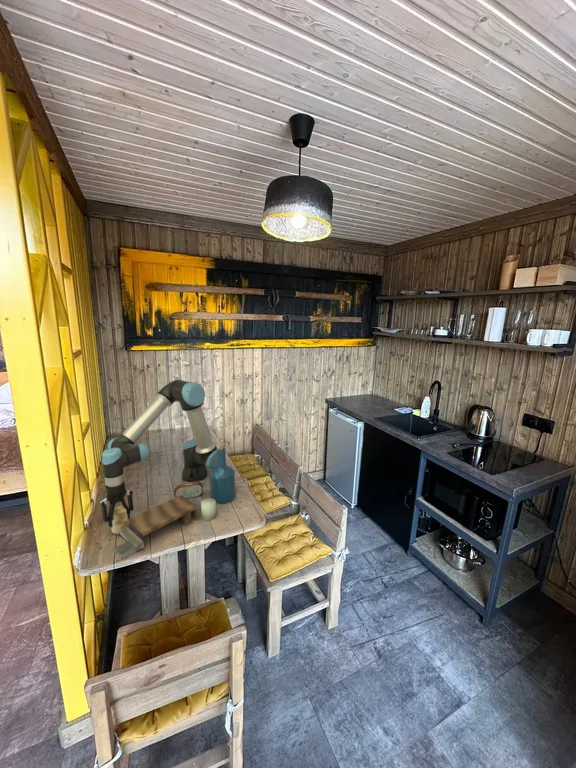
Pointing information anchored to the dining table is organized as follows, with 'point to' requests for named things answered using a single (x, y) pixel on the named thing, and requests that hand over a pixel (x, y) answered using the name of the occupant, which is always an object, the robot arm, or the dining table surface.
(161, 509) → the shelf
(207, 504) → the cream cylinder
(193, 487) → the tin
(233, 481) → the wine bottle
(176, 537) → the dining table surface
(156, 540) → the dining table surface
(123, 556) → the grey stone block
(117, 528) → the tool
